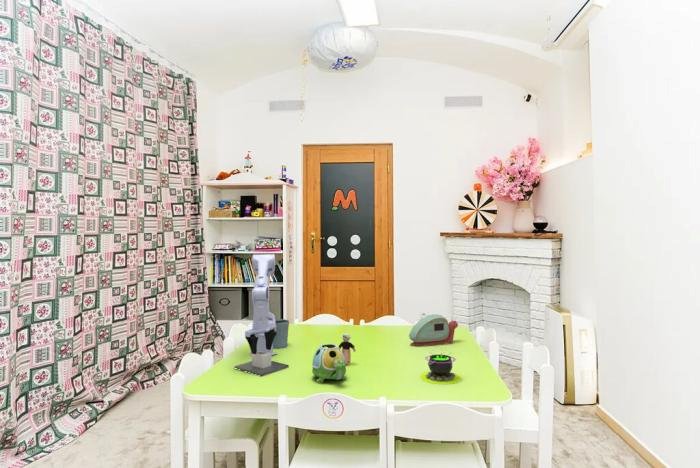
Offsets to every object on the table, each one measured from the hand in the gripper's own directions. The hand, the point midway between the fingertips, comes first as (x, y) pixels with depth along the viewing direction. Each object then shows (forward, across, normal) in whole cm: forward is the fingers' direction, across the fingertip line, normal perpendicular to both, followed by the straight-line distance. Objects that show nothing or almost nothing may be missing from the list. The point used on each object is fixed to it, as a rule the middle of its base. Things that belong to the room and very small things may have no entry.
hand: (261, 351), depth 183 cm
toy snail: (+7, +75, -37) cm, 84 cm away
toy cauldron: (+7, +31, -62) cm, 70 cm away
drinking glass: (+7, +28, +20) cm, 35 cm away
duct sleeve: (+6, 0, 0) cm, 6 cm away
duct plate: (+7, 0, 0) cm, 7 cm away
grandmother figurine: (+7, +24, -24) cm, 35 cm away
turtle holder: (+7, +6, -31) cm, 32 cm away
